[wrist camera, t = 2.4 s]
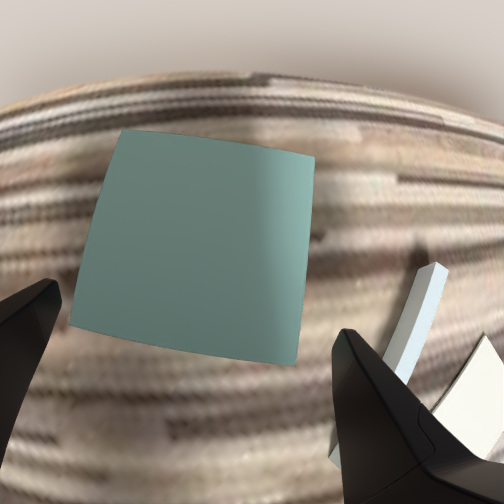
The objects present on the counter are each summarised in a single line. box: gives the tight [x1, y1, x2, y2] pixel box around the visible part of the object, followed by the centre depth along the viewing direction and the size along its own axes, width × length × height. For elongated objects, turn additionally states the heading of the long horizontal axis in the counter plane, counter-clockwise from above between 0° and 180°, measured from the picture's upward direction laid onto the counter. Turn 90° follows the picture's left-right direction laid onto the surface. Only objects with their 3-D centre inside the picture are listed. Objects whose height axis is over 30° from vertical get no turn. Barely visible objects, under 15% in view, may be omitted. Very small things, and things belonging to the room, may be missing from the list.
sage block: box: [69, 129, 315, 366], centre depth 13 cm, size 5×5×12 cm
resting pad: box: [432, 335, 504, 459], centre depth 18 cm, size 9×9×1 cm
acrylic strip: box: [329, 262, 449, 470], centre depth 17 cm, size 14×1×2 cm, turn 151°
